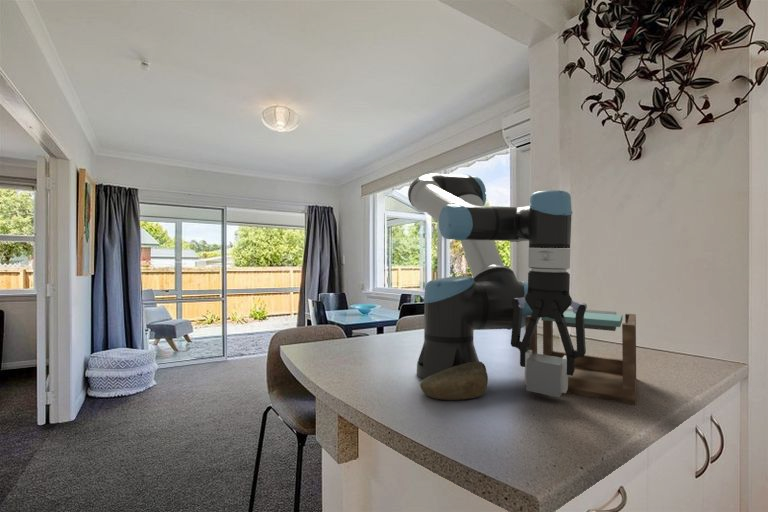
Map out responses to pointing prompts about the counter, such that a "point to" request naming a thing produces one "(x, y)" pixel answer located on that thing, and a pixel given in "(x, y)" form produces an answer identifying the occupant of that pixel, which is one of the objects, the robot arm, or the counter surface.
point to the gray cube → (544, 374)
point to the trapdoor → (593, 319)
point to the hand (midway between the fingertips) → (545, 386)
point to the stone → (457, 382)
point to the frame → (599, 366)
